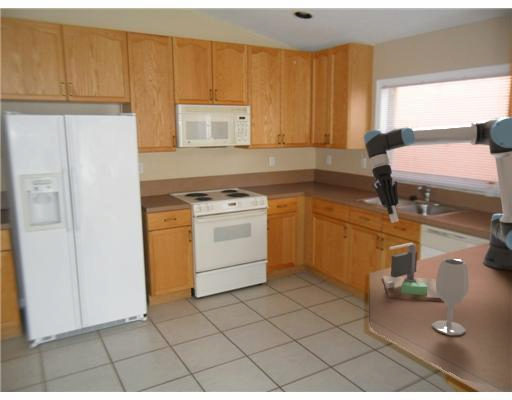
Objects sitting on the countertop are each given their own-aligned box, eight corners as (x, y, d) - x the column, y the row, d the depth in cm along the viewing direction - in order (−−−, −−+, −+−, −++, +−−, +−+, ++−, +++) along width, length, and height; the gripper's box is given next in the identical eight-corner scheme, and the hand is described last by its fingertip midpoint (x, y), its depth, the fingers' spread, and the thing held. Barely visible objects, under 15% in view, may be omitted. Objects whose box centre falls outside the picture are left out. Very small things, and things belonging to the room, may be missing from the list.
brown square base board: (432, 281, 161) (432, 278, 161) (446, 301, 142) (446, 298, 142) (382, 278, 165) (382, 275, 164) (389, 297, 145) (389, 294, 145)
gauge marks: (428, 291, 148) (428, 283, 147) (426, 296, 143) (426, 288, 143) (387, 284, 154) (388, 277, 154) (384, 289, 150) (385, 281, 149)
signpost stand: (409, 278, 161) (411, 240, 158) (418, 281, 157) (421, 243, 154) (383, 285, 153) (385, 245, 151) (393, 288, 150) (395, 248, 147)
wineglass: (426, 326, 124) (430, 259, 121) (447, 320, 127) (452, 255, 124) (449, 339, 116) (455, 267, 113) (471, 333, 119) (477, 263, 116)
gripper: (384, 169, 178) (398, 222, 173) (363, 170, 170) (377, 225, 166) (397, 163, 171) (412, 218, 167) (376, 164, 164) (391, 221, 160)
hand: (395, 221), depth 167 cm, fingers closed
